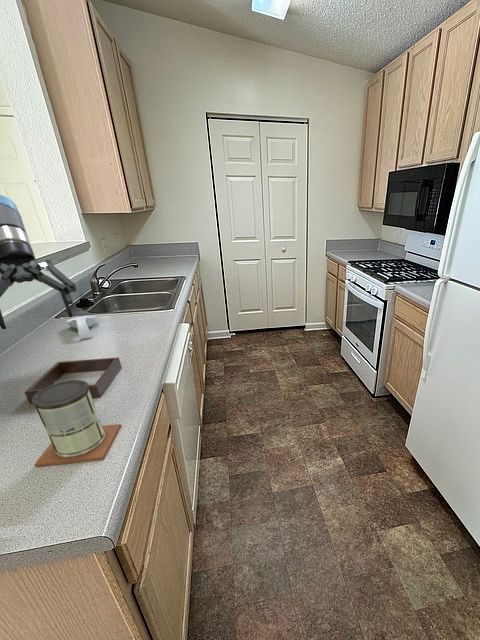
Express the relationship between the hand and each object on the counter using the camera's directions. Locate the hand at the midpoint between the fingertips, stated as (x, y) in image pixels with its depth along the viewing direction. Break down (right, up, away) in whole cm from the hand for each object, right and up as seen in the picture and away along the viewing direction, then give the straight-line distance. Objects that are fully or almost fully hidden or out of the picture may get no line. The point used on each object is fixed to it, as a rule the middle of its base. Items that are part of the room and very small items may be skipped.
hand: (38, 320), depth 81 cm
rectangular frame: (-5, -17, +23) cm, 29 cm away
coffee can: (+13, -29, -3) cm, 32 cm away
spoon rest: (-30, +3, +65) cm, 71 cm away
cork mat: (+13, -30, -3) cm, 33 cm away
